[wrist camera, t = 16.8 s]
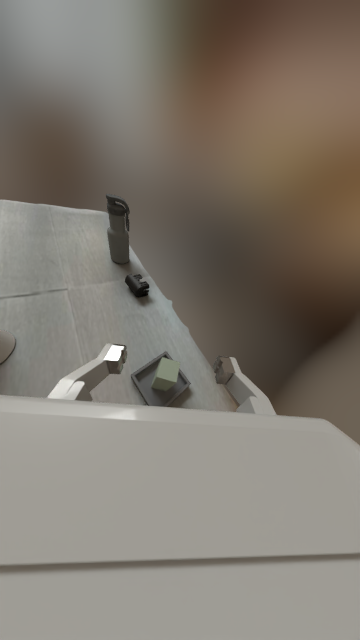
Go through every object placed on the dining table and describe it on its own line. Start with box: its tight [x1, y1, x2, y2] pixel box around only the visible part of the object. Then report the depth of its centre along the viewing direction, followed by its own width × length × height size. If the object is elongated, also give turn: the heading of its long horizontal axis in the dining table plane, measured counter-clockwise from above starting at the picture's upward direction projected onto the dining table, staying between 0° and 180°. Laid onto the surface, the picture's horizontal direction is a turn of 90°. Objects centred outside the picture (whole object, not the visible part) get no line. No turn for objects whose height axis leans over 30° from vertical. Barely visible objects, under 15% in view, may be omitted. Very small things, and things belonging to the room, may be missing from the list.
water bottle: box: [106, 194, 129, 264], centre depth 65 cm, size 10×10×28 cm
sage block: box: [151, 357, 180, 391], centre depth 37 cm, size 5×5×13 cm
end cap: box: [125, 274, 149, 297], centre depth 62 cm, size 10×7×7 cm
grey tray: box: [131, 352, 191, 407], centre depth 42 cm, size 14×14×3 cm
